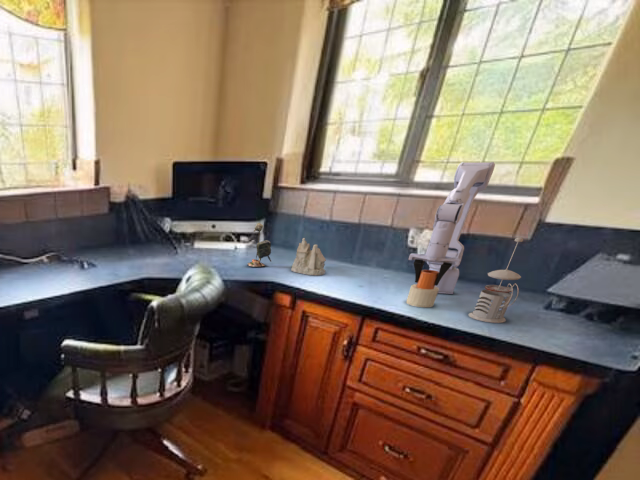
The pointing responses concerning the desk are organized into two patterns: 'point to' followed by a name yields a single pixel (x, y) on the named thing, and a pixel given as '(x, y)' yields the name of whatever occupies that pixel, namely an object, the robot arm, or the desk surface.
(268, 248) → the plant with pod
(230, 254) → the desk surface
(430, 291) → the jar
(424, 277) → the cup
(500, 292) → the french press
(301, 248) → the ceramic cottage
